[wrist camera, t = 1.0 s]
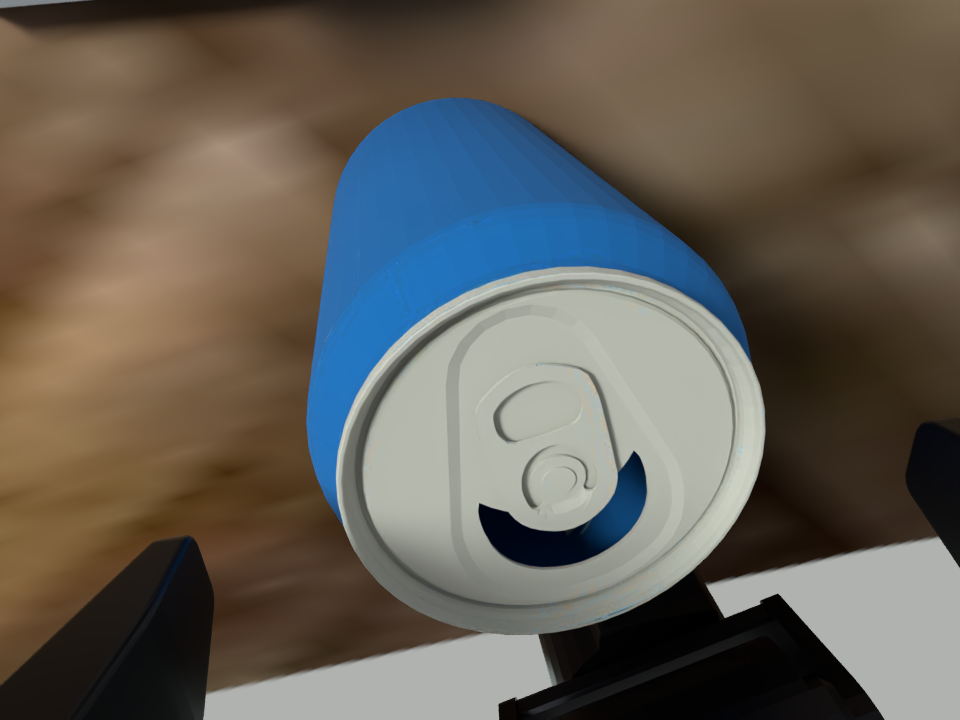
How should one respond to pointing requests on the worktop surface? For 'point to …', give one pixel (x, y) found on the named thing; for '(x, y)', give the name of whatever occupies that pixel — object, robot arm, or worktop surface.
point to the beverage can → (521, 380)
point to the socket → (32, 2)
